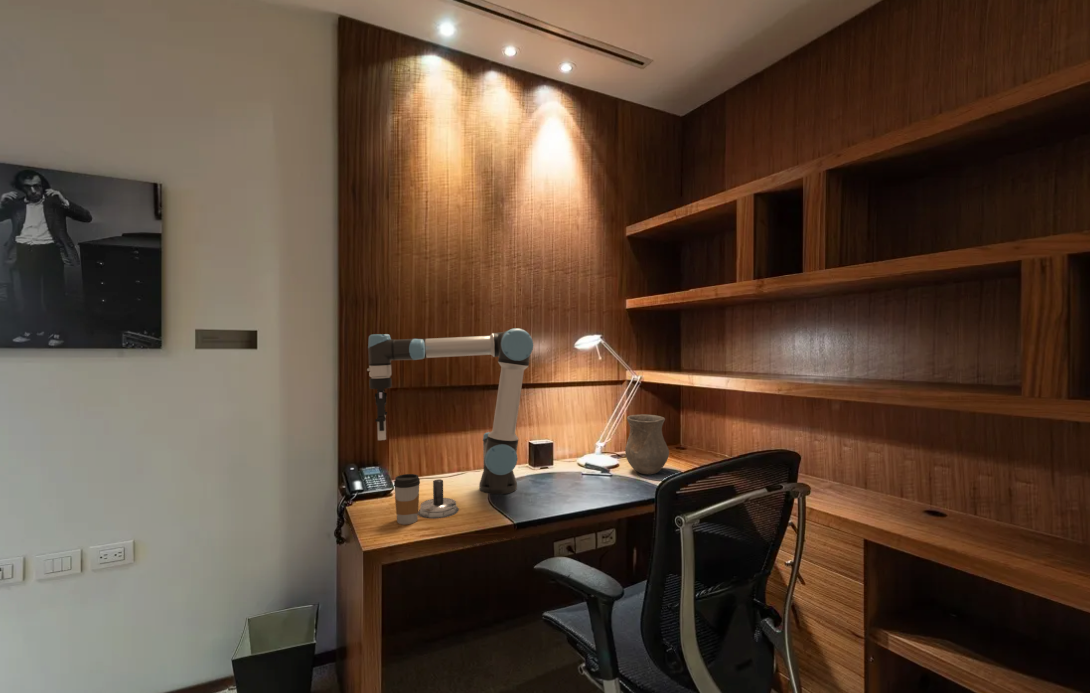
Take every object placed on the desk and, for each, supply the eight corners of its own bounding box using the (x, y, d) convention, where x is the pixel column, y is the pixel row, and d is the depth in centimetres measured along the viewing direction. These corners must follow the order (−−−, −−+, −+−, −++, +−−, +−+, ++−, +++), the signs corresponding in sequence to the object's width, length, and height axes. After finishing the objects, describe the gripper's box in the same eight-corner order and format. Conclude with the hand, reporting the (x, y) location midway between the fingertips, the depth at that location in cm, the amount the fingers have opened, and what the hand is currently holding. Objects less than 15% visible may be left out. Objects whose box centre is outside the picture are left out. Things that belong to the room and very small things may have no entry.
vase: (678, 475, 203) (677, 418, 203) (641, 481, 196) (641, 422, 195) (651, 464, 221) (651, 412, 221) (616, 469, 214) (616, 415, 214)
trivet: (460, 504, 169) (460, 502, 169) (457, 518, 155) (457, 517, 155) (421, 506, 168) (421, 504, 168) (414, 520, 154) (414, 519, 154)
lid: (457, 504, 168) (456, 475, 168) (454, 516, 156) (454, 485, 156) (423, 505, 167) (423, 476, 167) (418, 518, 155) (417, 486, 155)
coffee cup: (397, 518, 156) (397, 473, 156) (422, 517, 157) (422, 473, 157) (391, 527, 148) (390, 481, 148) (417, 526, 149) (417, 480, 149)
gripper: (370, 375, 176) (371, 431, 177) (367, 380, 153) (369, 444, 153) (390, 374, 179) (392, 429, 179) (391, 379, 155) (393, 442, 156)
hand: (382, 436), depth 166 cm, fingers open, 13 cm apart
